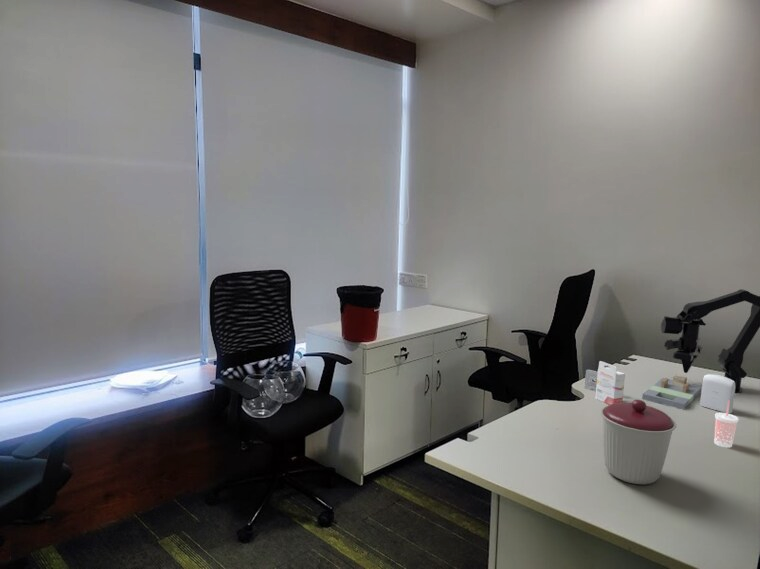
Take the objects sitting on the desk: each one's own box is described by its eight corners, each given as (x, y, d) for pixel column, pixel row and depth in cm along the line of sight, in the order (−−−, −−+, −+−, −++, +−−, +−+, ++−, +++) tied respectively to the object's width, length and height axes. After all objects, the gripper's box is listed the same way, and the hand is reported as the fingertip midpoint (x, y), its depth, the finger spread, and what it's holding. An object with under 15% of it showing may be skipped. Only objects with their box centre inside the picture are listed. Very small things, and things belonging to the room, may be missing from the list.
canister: (606, 452, 156) (613, 383, 153) (675, 473, 145) (685, 399, 142) (585, 476, 143) (593, 401, 139) (660, 501, 131) (670, 420, 128)
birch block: (675, 382, 214) (676, 374, 213) (686, 384, 211) (687, 377, 210) (672, 384, 211) (673, 377, 210) (683, 387, 208) (684, 379, 207)
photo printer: (697, 405, 194) (701, 373, 192) (702, 403, 197) (706, 371, 195) (729, 415, 187) (734, 381, 185) (733, 412, 189) (738, 378, 187)
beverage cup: (738, 449, 160) (744, 405, 158) (716, 447, 161) (722, 403, 159) (729, 440, 166) (735, 398, 164) (708, 438, 167) (713, 396, 165)
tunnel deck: (662, 382, 219) (663, 371, 218) (701, 391, 209) (702, 380, 209) (642, 398, 200) (643, 387, 199) (683, 409, 190) (685, 397, 190)
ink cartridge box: (622, 404, 194) (627, 365, 191) (613, 406, 191) (617, 367, 189) (604, 396, 201) (607, 358, 199) (594, 398, 199) (598, 360, 197)
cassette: (583, 388, 209) (585, 370, 208) (585, 387, 211) (587, 368, 209) (615, 396, 202) (617, 377, 200) (617, 395, 203) (619, 375, 202)
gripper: (674, 327, 225) (670, 363, 228) (661, 335, 212) (657, 373, 214) (704, 332, 218) (699, 369, 220) (692, 340, 204) (688, 379, 207)
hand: (685, 372), depth 216 cm, fingers closed
